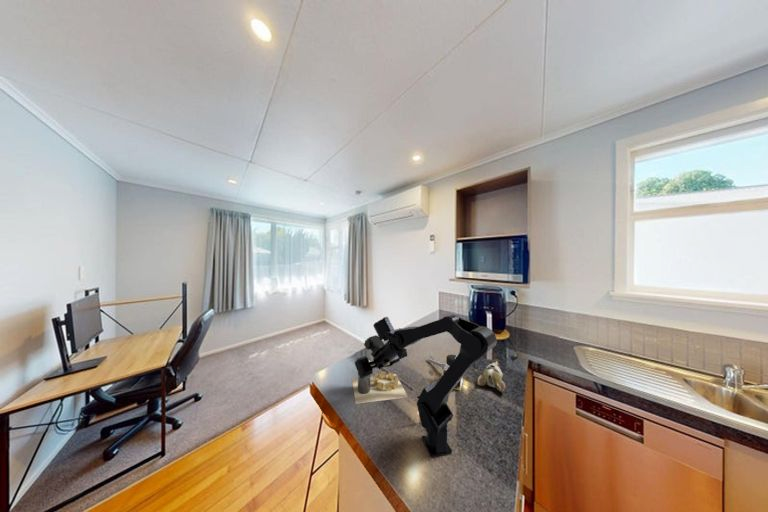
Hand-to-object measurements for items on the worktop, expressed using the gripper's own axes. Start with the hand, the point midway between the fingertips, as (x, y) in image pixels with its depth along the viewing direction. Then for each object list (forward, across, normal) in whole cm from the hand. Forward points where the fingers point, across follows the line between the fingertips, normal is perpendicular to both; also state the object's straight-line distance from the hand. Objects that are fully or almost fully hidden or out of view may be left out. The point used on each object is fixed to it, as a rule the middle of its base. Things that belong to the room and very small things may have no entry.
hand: (367, 370), depth 82 cm
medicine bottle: (-7, -33, +20) cm, 39 cm away
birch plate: (+6, -6, +7) cm, 11 cm away
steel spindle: (+7, 0, +4) cm, 9 cm away
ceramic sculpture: (-15, -46, +28) cm, 56 cm away
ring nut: (+5, -9, +6) cm, 13 cm away
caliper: (+1, -40, +12) cm, 41 cm away
